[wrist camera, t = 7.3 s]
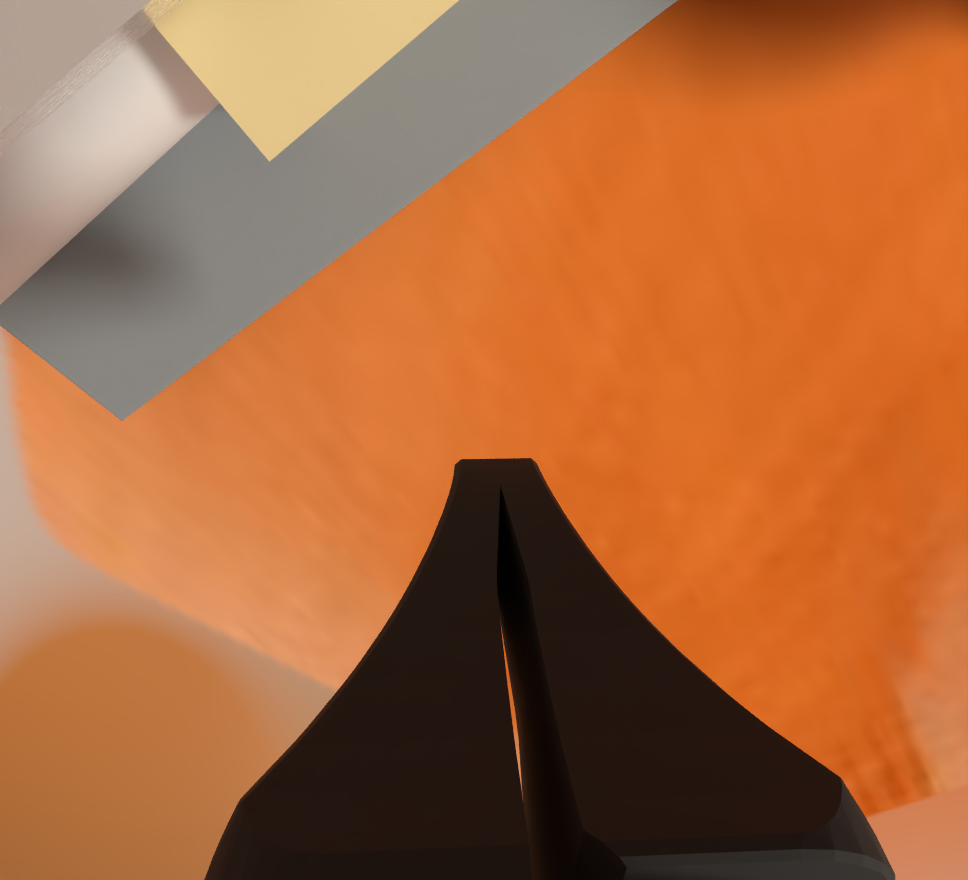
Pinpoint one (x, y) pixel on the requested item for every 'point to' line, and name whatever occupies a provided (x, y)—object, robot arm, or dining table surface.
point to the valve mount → (256, 163)
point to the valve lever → (61, 52)
